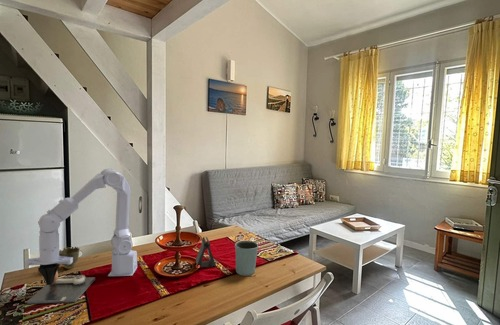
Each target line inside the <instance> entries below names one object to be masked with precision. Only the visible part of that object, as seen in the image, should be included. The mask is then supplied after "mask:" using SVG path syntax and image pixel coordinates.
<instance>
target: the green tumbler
mask: <svg viewBox="0 0 500 325" xmlns="http://www.w3.org/2000/svg"><path fill="white" fill-rule="evenodd" d="M234 248H235V272H236V274H238V275H240V276H252V275H254V274H255V272H256V266H257V265H256V263H257V256H258V249H259V244H258V243H257V242H254V241H251V240H241V241H240V240H239V241H237V242H235V244H234Z"/></svg>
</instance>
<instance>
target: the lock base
mask: <svg viewBox="0 0 500 325" xmlns="http://www.w3.org/2000/svg"><path fill="white" fill-rule="evenodd" d="M73 278H74V277H62V278H59V277H58V279H73ZM94 281H96V277H93V276H92V277H90V276H89V277H86V276H85V282H84V283H82V284H78V285H75V284H73V283H54V284H51V285H46V283H45V285H44V286H43V287H42V288H41V289H40V290H39V291H37V292H36V293H35V294H34V295H32V296H31V297H30V298H29V299H28V300H27V301H26V304H27V305H36V304H39V305H40V304H57V303H60V304H61V303H76V302H77V301H78V300H79V299H80V298H81V296H82V295H83V294H84V293H85V292H86V291H87V290H88V288H89V287H90V286H91V285H92V284H93V283H94Z"/></svg>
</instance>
